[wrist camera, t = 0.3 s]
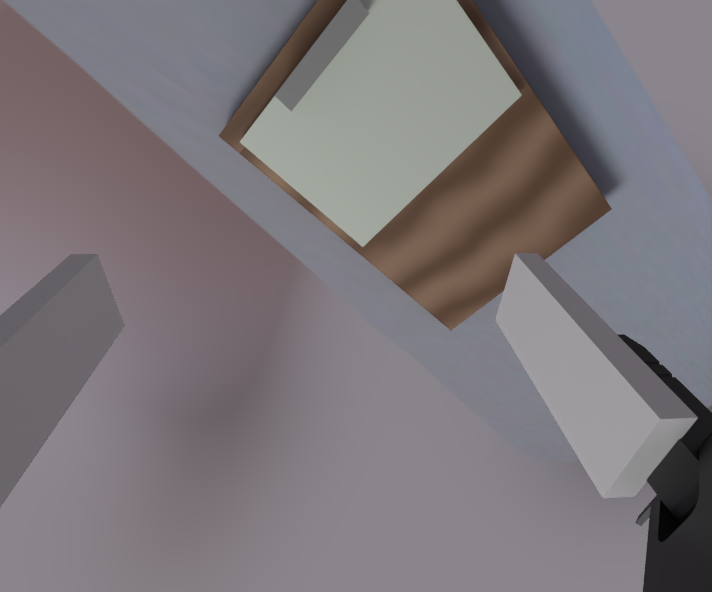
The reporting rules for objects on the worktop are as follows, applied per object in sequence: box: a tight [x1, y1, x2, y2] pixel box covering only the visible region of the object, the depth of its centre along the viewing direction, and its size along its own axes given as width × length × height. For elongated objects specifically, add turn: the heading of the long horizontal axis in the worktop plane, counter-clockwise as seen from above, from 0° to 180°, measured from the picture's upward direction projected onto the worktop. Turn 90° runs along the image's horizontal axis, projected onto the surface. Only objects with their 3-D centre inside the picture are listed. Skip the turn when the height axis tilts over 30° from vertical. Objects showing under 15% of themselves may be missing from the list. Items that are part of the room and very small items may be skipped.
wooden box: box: [219, 0, 611, 330], centre depth 35 cm, size 31×20×2 cm, turn 46°
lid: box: [240, 0, 522, 247], centre depth 30 cm, size 14×18×3 cm
